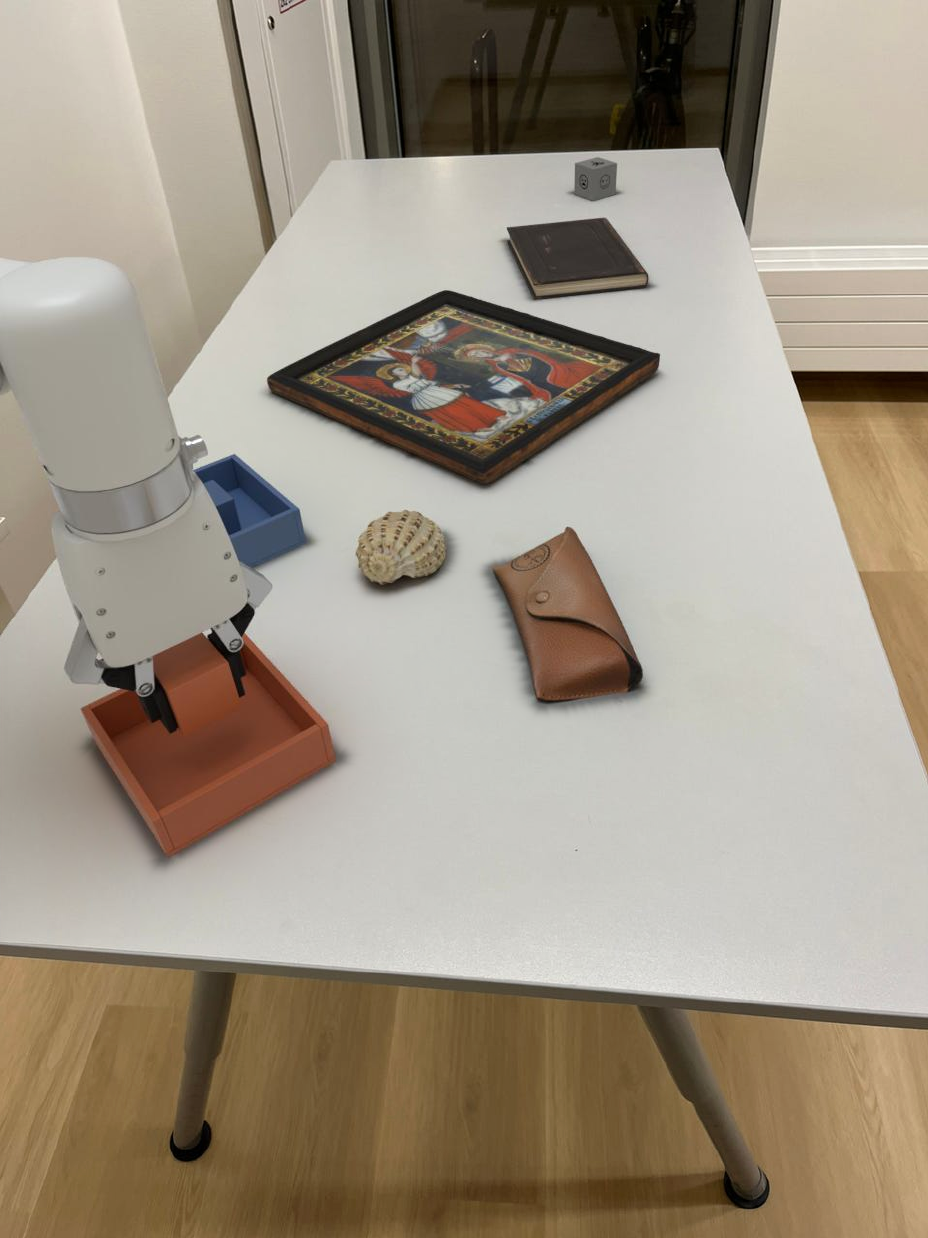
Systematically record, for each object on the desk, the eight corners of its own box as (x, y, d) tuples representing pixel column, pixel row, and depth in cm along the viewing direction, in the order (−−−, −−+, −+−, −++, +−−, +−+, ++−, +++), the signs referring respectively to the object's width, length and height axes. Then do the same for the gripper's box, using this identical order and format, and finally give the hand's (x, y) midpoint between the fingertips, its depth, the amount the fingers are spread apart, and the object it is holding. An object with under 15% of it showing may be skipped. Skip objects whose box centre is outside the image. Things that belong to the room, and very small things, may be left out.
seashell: (368, 566, 92) (353, 591, 82) (363, 504, 90) (347, 522, 80) (448, 563, 91) (443, 588, 82) (445, 501, 90) (439, 518, 80)
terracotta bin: (168, 858, 64) (152, 822, 61) (96, 744, 72) (79, 708, 69) (336, 761, 69) (328, 724, 67) (252, 666, 78) (241, 629, 75)
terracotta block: (184, 737, 65) (167, 692, 62) (158, 702, 68) (141, 657, 65) (242, 707, 67) (228, 662, 64) (214, 674, 70) (200, 629, 67)
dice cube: (592, 200, 161) (593, 169, 157) (574, 193, 164) (574, 162, 161) (615, 194, 163) (617, 162, 159) (596, 187, 166) (597, 156, 163)
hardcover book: (534, 299, 131) (533, 283, 129) (507, 242, 148) (506, 227, 147) (648, 287, 132) (649, 270, 130) (607, 231, 149) (608, 216, 148)
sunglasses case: (485, 564, 85) (521, 505, 82) (550, 584, 88) (587, 528, 85) (537, 705, 72) (583, 641, 68) (611, 723, 75) (659, 662, 71)
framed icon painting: (243, 407, 111) (238, 384, 110) (425, 301, 132) (424, 280, 130) (514, 501, 94) (513, 476, 92) (675, 361, 114) (677, 338, 113)
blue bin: (178, 602, 84) (166, 566, 82) (121, 536, 93) (109, 502, 90) (306, 543, 90) (299, 508, 88) (242, 486, 98) (234, 453, 96)
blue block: (201, 555, 89) (190, 516, 86) (181, 534, 91) (170, 496, 89) (243, 537, 91) (233, 498, 88) (223, 517, 93) (212, 479, 91)
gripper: (225, 411, 61) (278, 625, 73) (-43, 512, 54) (65, 731, 66) (281, 456, 57) (329, 677, 68) (-3, 573, 49) (105, 797, 61)
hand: (198, 701), depth 67 cm, fingers closed on terracotta block, 4 cm apart
